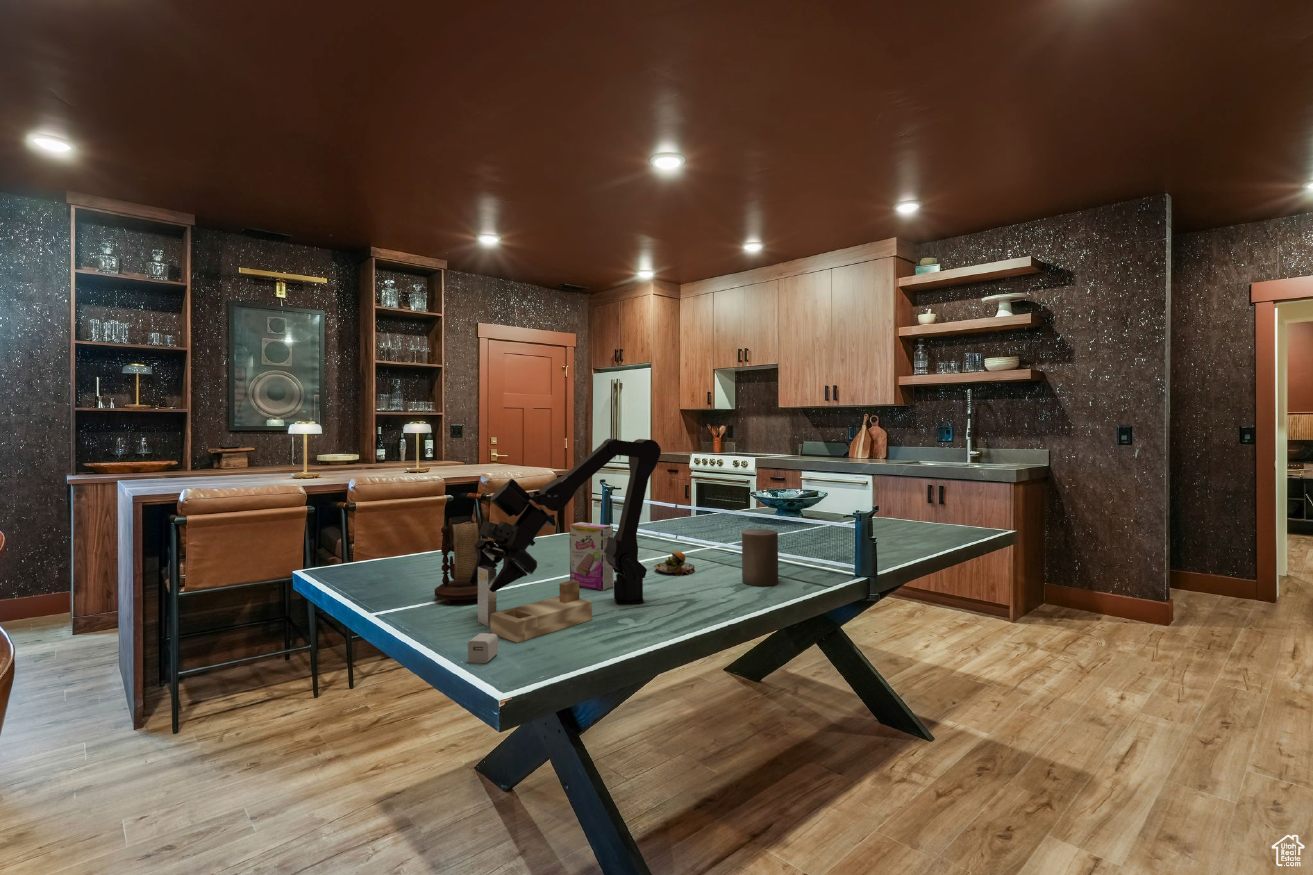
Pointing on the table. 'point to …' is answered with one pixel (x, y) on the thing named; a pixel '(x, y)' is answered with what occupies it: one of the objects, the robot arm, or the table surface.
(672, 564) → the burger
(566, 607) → the hand plane
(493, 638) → the usb wall charger
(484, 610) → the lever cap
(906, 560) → the table surface
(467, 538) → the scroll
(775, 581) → the pillar candle
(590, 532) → the candy bar box
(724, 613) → the table surface
